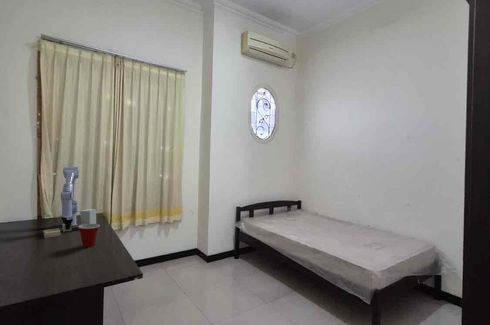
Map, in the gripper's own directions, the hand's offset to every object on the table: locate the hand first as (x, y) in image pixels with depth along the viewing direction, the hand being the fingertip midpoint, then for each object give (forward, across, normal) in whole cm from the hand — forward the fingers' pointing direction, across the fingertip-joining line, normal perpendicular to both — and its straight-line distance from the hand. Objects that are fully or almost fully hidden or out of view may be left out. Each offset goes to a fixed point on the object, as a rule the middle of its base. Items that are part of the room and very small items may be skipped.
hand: (66, 228), depth 176 cm
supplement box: (+2, 0, +13) cm, 13 cm away
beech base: (+2, +7, -9) cm, 12 cm away
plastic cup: (+2, +44, +5) cm, 44 cm away
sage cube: (+2, 0, 0) cm, 2 cm away
